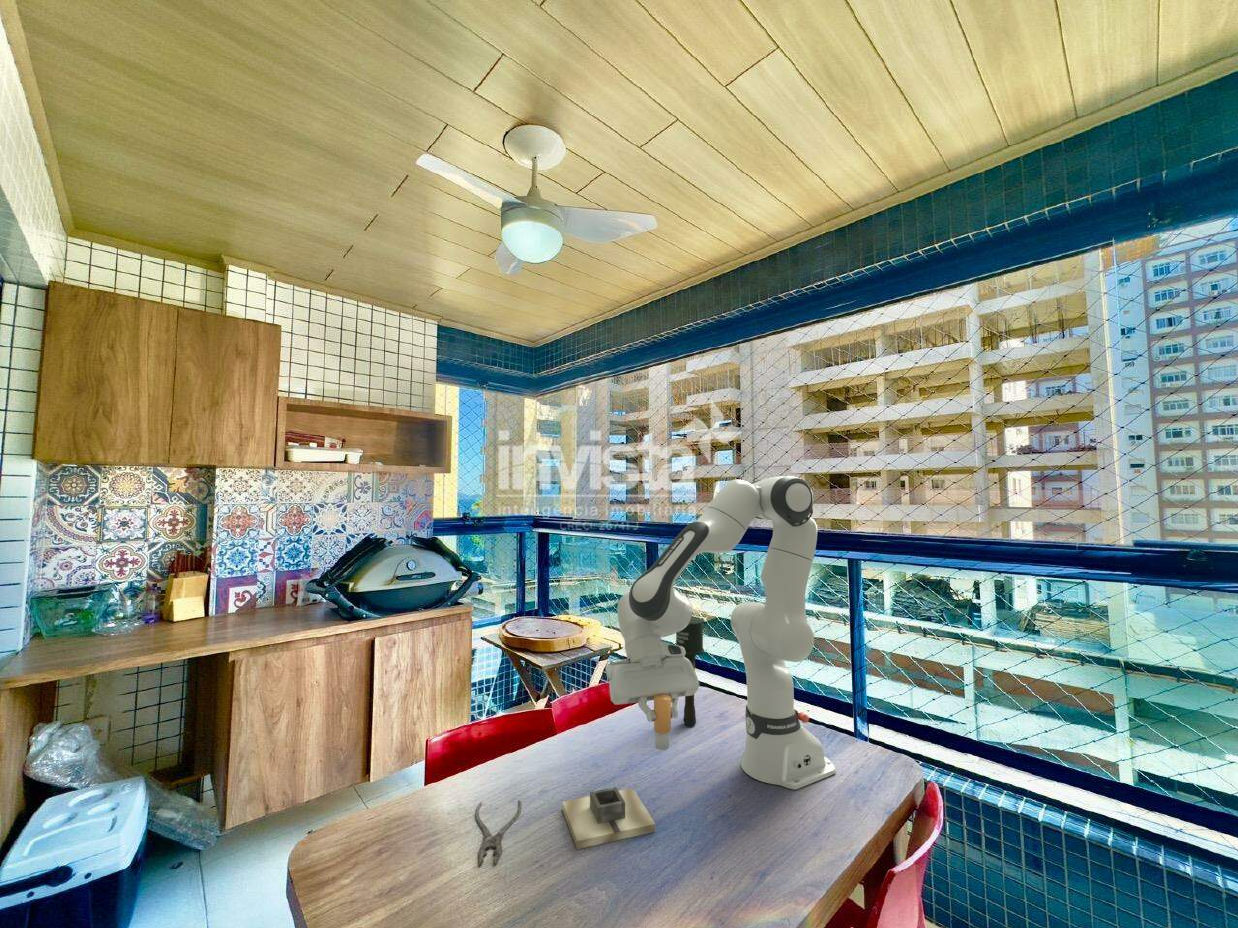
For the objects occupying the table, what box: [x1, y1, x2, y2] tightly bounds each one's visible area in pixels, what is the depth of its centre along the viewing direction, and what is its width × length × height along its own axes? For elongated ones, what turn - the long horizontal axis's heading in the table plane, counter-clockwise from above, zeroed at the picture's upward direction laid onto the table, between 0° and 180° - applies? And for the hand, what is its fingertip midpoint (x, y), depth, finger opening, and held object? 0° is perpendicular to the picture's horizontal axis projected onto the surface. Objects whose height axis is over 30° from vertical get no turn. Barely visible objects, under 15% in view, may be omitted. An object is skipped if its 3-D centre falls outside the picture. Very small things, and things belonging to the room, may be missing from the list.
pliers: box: [474, 799, 523, 868], centre depth 101 cm, size 10×1×20 cm
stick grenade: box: [675, 617, 705, 728], centre depth 149 cm, size 8×9×30 cm
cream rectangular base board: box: [561, 786, 656, 850], centre depth 104 cm, size 16×13×4 cm
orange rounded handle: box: [653, 694, 672, 751], centre depth 107 cm, size 4×4×10 cm
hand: (663, 718), depth 107 cm, fingers closed on orange rounded handle, 4 cm apart
